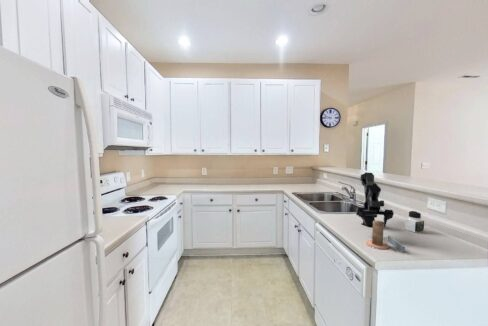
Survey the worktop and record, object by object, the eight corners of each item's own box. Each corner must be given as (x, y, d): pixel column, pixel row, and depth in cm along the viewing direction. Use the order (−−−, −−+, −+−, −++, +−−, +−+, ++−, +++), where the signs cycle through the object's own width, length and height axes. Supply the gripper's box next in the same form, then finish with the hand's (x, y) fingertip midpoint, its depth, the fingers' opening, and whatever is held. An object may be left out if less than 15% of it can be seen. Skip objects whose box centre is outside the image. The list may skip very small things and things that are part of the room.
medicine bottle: (415, 232, 142) (416, 213, 141) (404, 228, 148) (405, 210, 148) (423, 231, 143) (424, 212, 143) (412, 227, 150) (413, 209, 150)
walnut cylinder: (370, 241, 127) (371, 220, 126) (380, 242, 126) (381, 220, 126) (374, 245, 122) (375, 223, 121) (384, 245, 122) (385, 223, 121)
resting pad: (364, 239, 131) (364, 238, 131) (386, 242, 127) (386, 241, 127) (367, 247, 121) (367, 246, 121) (391, 250, 117) (391, 249, 117)
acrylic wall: (387, 241, 129) (387, 235, 129) (389, 241, 129) (390, 235, 129) (402, 252, 115) (402, 246, 115) (404, 252, 115) (404, 246, 115)
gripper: (357, 193, 138) (358, 217, 128) (393, 196, 131) (397, 221, 122) (355, 203, 146) (356, 226, 136) (389, 206, 139) (393, 230, 129)
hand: (375, 225), depth 131 cm, fingers open, 9 cm apart
